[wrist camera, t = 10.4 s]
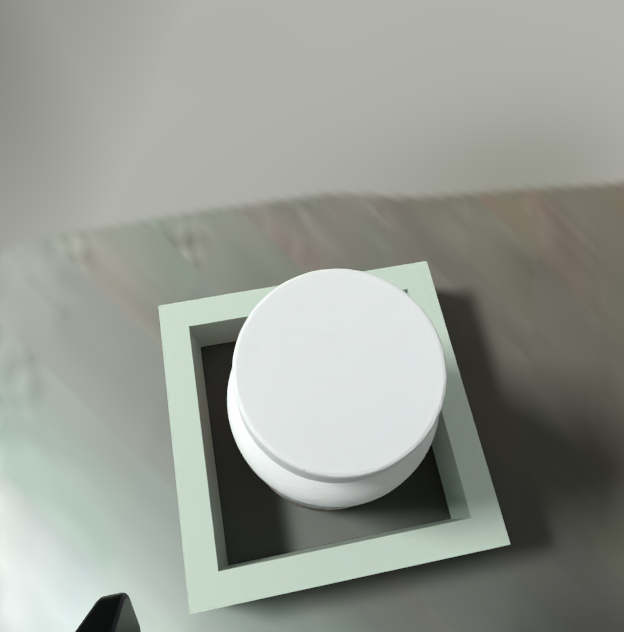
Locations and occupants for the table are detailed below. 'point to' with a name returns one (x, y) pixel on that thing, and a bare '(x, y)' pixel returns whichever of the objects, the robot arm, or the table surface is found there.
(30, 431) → the table surface
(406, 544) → the bottle holder
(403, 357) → the pill bottle
